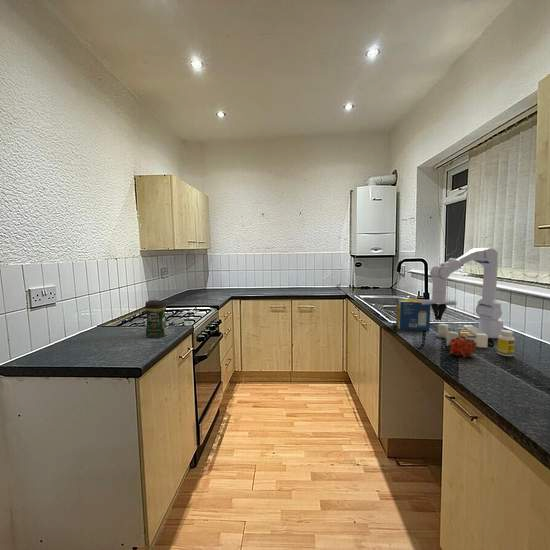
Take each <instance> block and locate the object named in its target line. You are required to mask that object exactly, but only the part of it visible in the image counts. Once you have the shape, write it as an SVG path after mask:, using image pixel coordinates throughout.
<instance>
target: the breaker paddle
mask: <svg viewBox="0 0 550 550" xmlns="http://www.w3.org/2000/svg"><path fill="white" fill-rule="evenodd" d="M459 334H460V336H463V335H466V334H471V333H469V332H460V331H459Z"/></svg>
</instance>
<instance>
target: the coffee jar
mask: <svg viewBox="0 0 550 550" xmlns="http://www.w3.org/2000/svg"><path fill="white" fill-rule="evenodd" d="M166 308H167V306H166V302H165V300H162V299H161V300H158V299H153V300H151V299H150V300H148V301H145V306H144V310H145V313H146V327H145V336H146V337H145V338H150V339H151V338H152V339H161V338H164V337H166V336H167V334H168V333H167V331H168V330H167V323H166Z"/></svg>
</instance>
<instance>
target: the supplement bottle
mask: <svg viewBox="0 0 550 550" xmlns="http://www.w3.org/2000/svg"><path fill="white" fill-rule="evenodd" d="M513 335H514V331H513V330H508V329H503V330H501V335H499V336H498V338H497V347H496V348H497V350H496V353H497V354H498V355H500V356H505V357H513V356H514V354H515V353H514V352H515V337H514V336H513Z"/></svg>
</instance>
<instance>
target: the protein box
mask: <svg viewBox="0 0 550 550" xmlns="http://www.w3.org/2000/svg"><path fill="white" fill-rule="evenodd" d="M422 300H426V299H425V298H424V299H423V298H396V313H395V317H396V319H395V325H396V327H397V328H398V330H399V329H402V330H401V331H417V330H419V332H429V331H430V324H431V323H430V322H431V304H425V305H424V304H422Z"/></svg>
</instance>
